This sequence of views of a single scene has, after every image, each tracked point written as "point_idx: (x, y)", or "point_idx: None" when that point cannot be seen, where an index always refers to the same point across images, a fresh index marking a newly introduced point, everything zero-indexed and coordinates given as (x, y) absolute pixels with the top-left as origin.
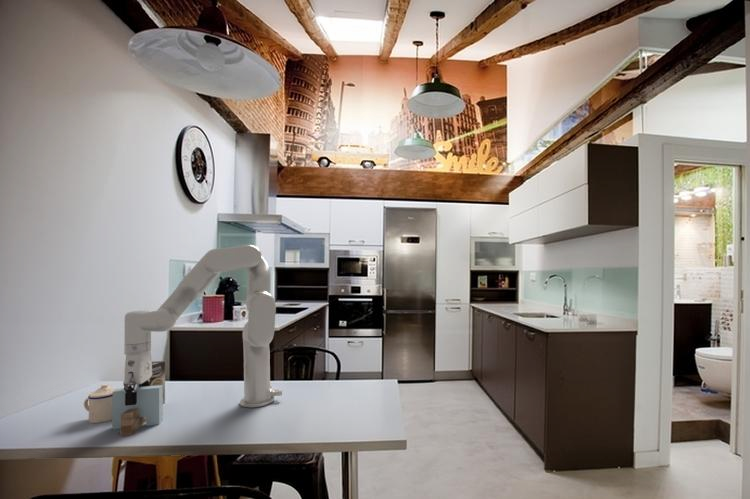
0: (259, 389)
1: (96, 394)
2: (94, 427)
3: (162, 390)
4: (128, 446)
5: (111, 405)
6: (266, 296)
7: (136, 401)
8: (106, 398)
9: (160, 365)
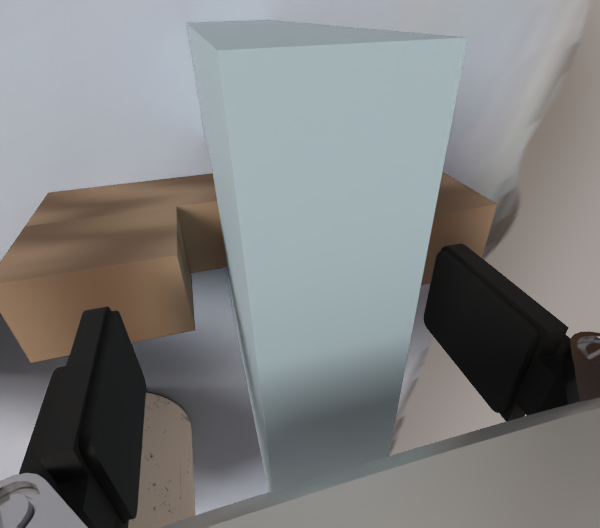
0: None
1: None
2: (241, 395)
3: (222, 38)
4: (561, 79)
5: (143, 471)
6: None
7: (466, 256)
8: None
9: None
